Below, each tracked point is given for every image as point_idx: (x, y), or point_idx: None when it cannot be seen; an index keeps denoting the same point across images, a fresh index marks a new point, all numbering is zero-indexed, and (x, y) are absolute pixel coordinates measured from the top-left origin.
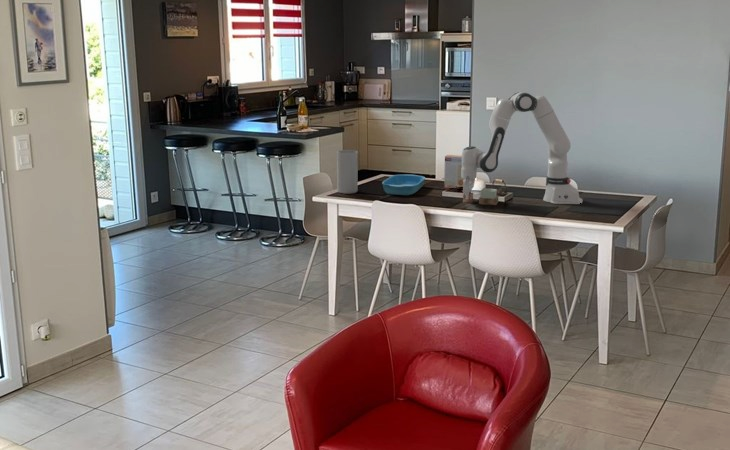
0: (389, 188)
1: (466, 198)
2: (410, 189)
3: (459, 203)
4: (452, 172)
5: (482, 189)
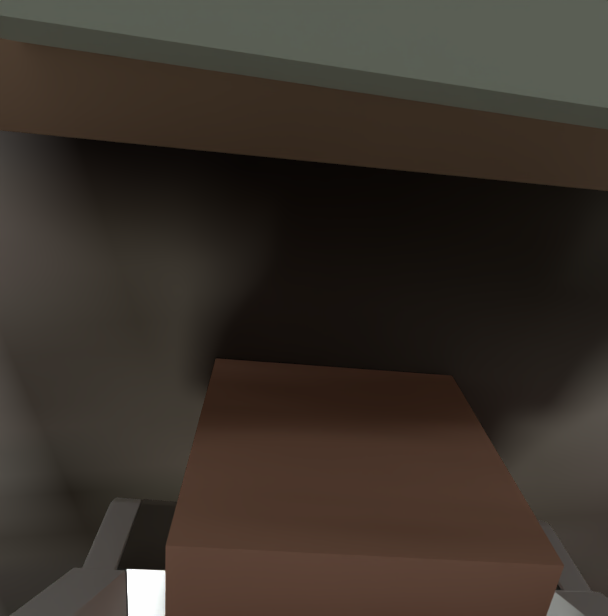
0: None
1: None
2: None
3: None
4: None
5: (399, 4)
